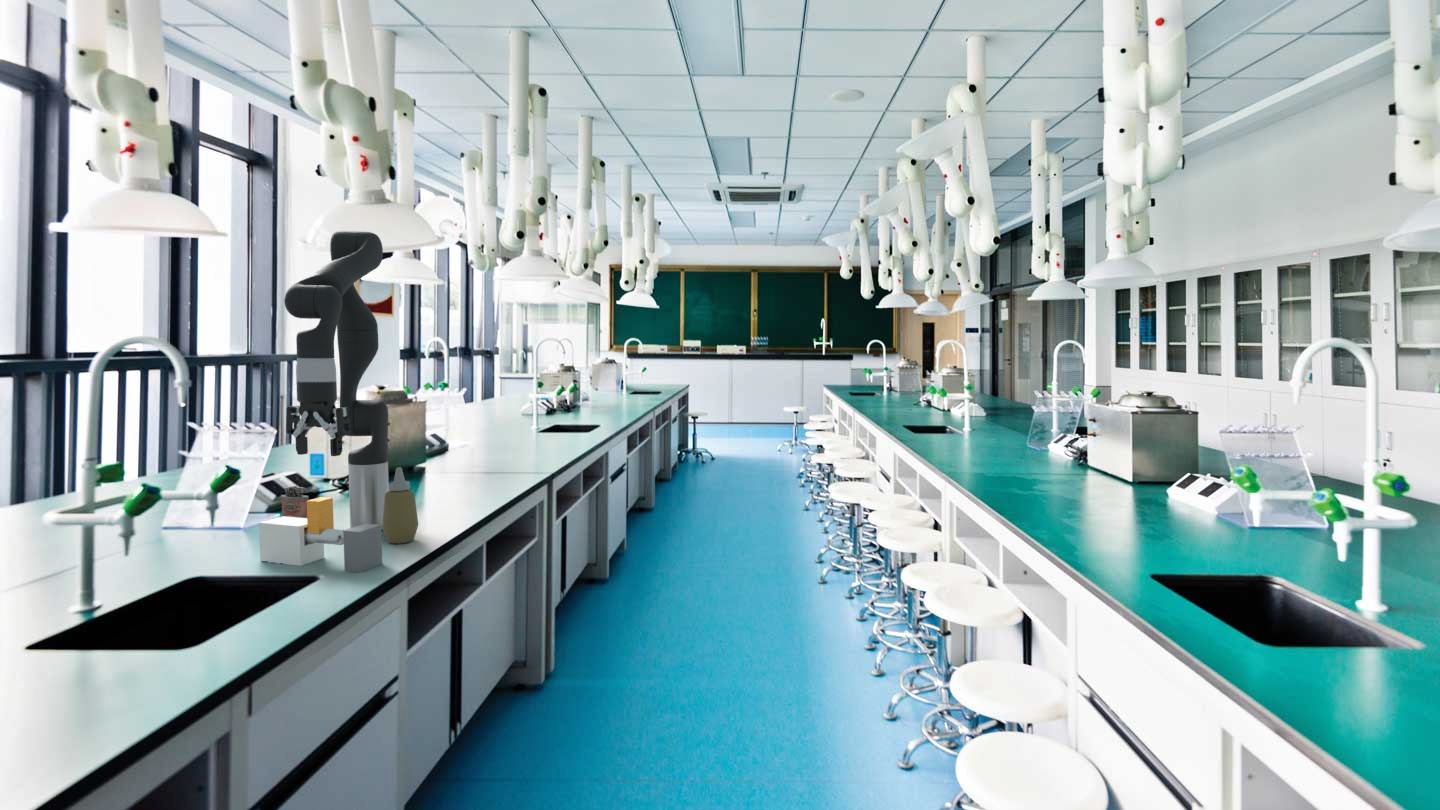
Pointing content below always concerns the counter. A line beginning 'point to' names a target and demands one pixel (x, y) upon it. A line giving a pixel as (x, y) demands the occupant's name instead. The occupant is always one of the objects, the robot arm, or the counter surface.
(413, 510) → the squeeze bottle
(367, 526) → the gray box
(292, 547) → the white box
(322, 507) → the slip tube
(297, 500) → the lighter
